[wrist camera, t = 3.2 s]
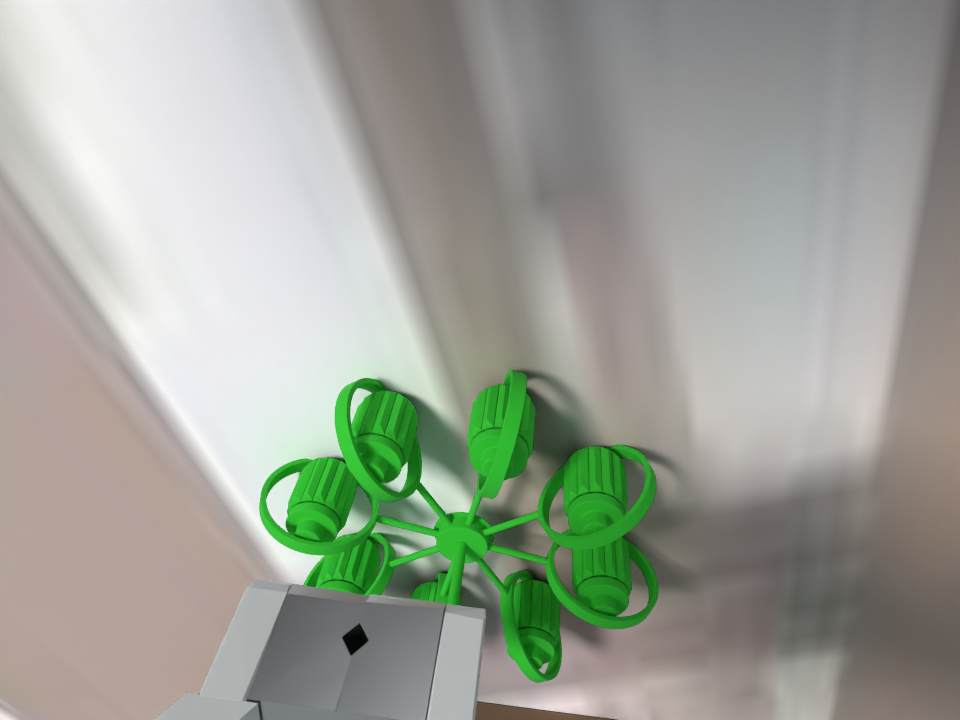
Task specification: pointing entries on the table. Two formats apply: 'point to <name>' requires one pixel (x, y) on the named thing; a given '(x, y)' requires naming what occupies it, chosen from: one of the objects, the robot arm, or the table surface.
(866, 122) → the table surface
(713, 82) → the table surface
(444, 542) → the chandelier
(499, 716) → the walnut block
